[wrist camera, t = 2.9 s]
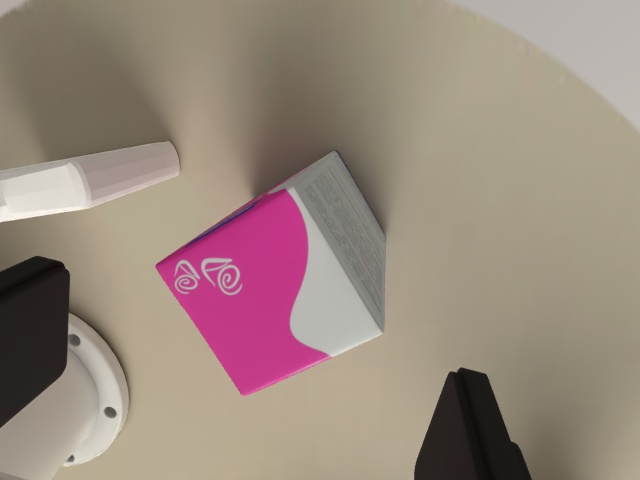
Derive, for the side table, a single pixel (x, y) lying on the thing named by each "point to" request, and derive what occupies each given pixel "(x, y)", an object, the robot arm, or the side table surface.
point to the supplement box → (286, 277)
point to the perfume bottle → (84, 180)
